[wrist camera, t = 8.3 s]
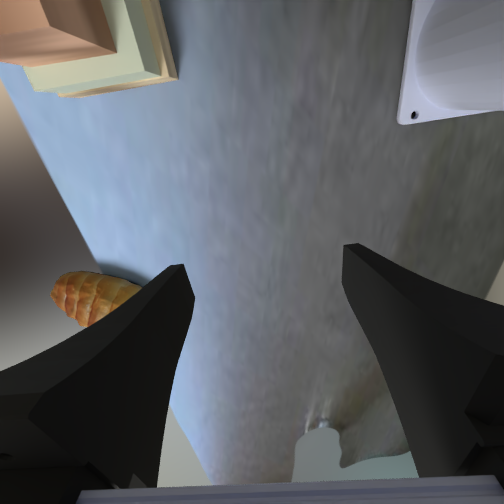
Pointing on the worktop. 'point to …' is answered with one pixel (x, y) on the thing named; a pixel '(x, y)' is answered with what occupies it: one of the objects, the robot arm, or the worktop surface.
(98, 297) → the pastry
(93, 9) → the terracotta cube
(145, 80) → the oak slab
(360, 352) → the worktop surface
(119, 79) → the sage slab
